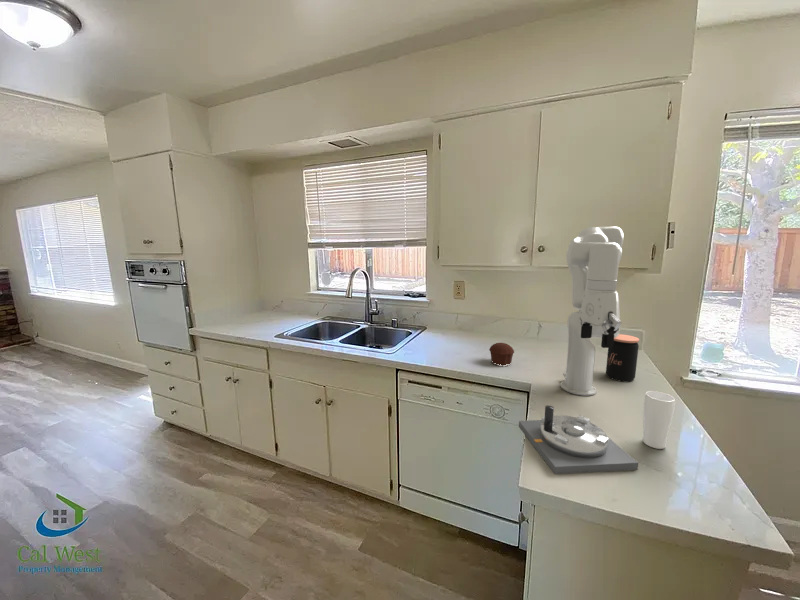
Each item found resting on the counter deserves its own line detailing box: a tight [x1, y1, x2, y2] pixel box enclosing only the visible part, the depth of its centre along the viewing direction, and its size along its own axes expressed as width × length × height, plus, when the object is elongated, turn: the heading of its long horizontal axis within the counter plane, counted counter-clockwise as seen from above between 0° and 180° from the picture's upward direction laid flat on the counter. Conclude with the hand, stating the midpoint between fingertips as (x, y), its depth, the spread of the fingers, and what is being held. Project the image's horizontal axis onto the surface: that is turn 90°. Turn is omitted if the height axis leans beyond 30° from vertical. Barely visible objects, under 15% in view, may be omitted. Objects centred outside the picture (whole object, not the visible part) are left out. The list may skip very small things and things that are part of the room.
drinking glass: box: [642, 390, 676, 450], centre depth 94 cm, size 7×7×15 cm
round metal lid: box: [540, 404, 610, 457], centre depth 94 cm, size 17×17×10 cm
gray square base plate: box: [518, 419, 639, 475], centre depth 95 cm, size 22×22×2 cm
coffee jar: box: [605, 333, 640, 382], centre depth 141 cm, size 11×11×18 cm
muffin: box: [488, 342, 515, 365], centre depth 160 cm, size 12×11×10 cm
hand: (595, 342), depth 99 cm, fingers open, 9 cm apart
